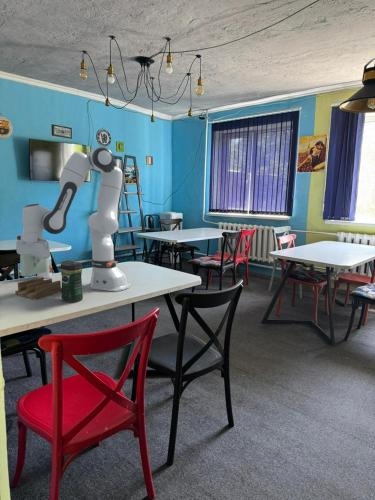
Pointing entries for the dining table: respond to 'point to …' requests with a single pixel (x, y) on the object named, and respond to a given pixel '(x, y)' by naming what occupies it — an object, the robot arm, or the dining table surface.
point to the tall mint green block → (31, 265)
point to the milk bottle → (48, 269)
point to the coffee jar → (71, 281)
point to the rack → (38, 288)
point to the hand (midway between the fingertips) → (33, 265)
